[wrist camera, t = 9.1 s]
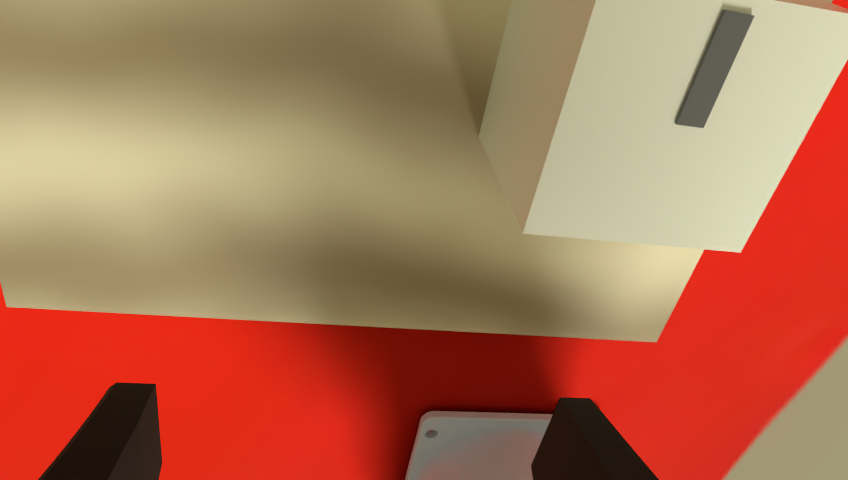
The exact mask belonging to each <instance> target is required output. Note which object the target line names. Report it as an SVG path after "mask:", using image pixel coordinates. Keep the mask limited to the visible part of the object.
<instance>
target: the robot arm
mask: <svg viewBox="0 0 848 480" xmlns="http://www.w3.org/2000/svg"><path fill="white" fill-rule="evenodd" d="M429 430H430V431H429ZM161 465H162V456H161V443H160V431H159V419H158V407H157V395H156V384H139V383H115V384H114V385H112V386H111V387H110V388H109V389H108V390H107V392H106V393H105V395H104V396H103V398H102V399H101V400H100V402H99V403H98V405H97V406H96V407H95V409H94V410H93V411H92V413H91V414H90V415H89V417H88V418H87V419H86V421H85V422H84V423H83V425H82V426H81V427H80V429H79V430H78V431H77V433H76V434H75V435H74V436H73V438H72V439H71V440H70V441H69V443H68V444H67V445H66V446H65V448H64V449H63V450H62V451H61V453H60V454H59V455H58V457H57V458H56V459H55V460H54V461H53V463H52V464H51V465H50V466H49V467H48V468H47V470H46V471H45V472H44V473H43V474H42V476H41V477H40V478H39V479H38V480H158V479H159V475H160V470H161ZM405 480H659V479H658V478H657V477H656V476H655V475H654V474H653V472H652V471H651V470H650V469H649V468H648V467H647V465H646V464H645V463H644V462H643V461H642V460H641V458H640V457H639V456H638V455H637V454H636V452H635V451H634V450H633V449H632V448H631V447H630V445H629V444H628V443H627V442H626V441H625V439H624V438H623V437H622V436H621V435H620V433H619V432H618V431H617V430H616V429H615V427H614V426H613V425H612V424H611V423H610V421H609V420H608V419H607V418H606V417H605V415H604V414H603V413H602V412H601V411H600V410H599V408H598V407H597V406H596V405H595V404H594V403H593V401H592V400H591V399H589V398H560V399H559V401H558V404H557V406H556V408H555V411H554V413H553V414H530V413H494V412H458V411H430V412H427V413H425V414H424V415H423V416H422V417H421V419H420V423H419V427H418V431H417V435H416V438H415V442H414V446H413V450H412V454H411V458H410V461H409V465H408V469H407V473H406V477H405Z"/></svg>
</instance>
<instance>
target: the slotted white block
mask: <svg viewBox="0 0 848 480" xmlns="http://www.w3.org/2000/svg"><path fill="white" fill-rule="evenodd" d="M847 59H848V9H846V8H843V7H840V6H838V5H835V4H832V3H829V2H827V1H824V0H512V1H511V5H510V10H509V14H508V18H507V22H506V26H505V30H504V34H503V38H502V42H501V47H500V51H499V55H498V59H497V63H496V67H495V71H494V75H493V79H492V84H491V88H490V92H489V96H488V100H487V104H486V108H485V112H484V116H483V120H482V125H481V129H480V133H479V139H480V141H481V143H482V145H483V148H484V150H485V152H486V154H487V156H488V159H489V161H490V163H491V165H492V167H493V170H494V172H495V174H496V176H497V178H498V180H499V183H500V185H501V187H502V189H503V191H504V194H505V196H506V198H507V200H508V202H509V205H510V207H511V209H512V211H513V213H514V216H515V218H516V220H517V222H518V224H519V227H520V229H521V231H522V233H523V234H534V235H545V236H557V237H568V238H580V239H591V240H603V241H614V242H626V243H637V244H649V245H660V246H672V247H683V248H695V249H706V250H718V251H729V252H741V251H742V249H743V247H744V245H745V243H746V242H747V240H748V238H749V236H750V234H751V233H752V231H753V229H754V227H755V225H756V224H757V222H758V220H759V218H760V216H761V215H762V213H763V211H764V209H765V207H766V206H767V204H768V202H769V200H770V198H771V197H772V195H773V193H774V191H775V189H776V188H777V186H778V184H779V182H780V180H781V178H782V177H783V175H784V173H785V171H786V169H787V168H788V166H789V164H790V162H791V160H792V159H793V157H794V155H795V153H796V151H797V150H798V148H799V146H800V144H801V142H802V141H803V139H804V137H805V135H806V133H807V132H808V130H809V128H810V126H811V124H812V123H813V121H814V119H815V117H816V115H817V114H818V112H819V110H820V108H821V106H822V105H823V103H824V101H825V99H826V97H827V96H828V94H829V92H830V90H831V88H832V87H833V85H834V83H835V81H836V79H837V77H838V76H839V74H840V72H841V70H842V68H843V67H844V65H845V63H846V61H847Z"/></svg>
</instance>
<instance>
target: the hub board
mask: <svg viewBox="0 0 848 480" xmlns="http://www.w3.org/2000/svg"><path fill="white" fill-rule="evenodd" d="M511 1H512V0H0V282H1V286H2V290H3V294H4V298H5V303H6V307H17V308H35V309H54V310H72V311H91V312H109V313H127V314H146V315H164V316H183V317H201V318H220V319H238V320H257V321H275V322H294V323H312V324H330V325H349V326H367V327H386V328H404V329H423V330H441V331H460V332H478V333H496V334H515V335H533V336H552V337H570V338H589V339H607V340H626V341H644V342H657V340H658V338H659V336H660V334H661V332H662V330H663V328H664V326H665V324H666V323H667V321H668V319H669V317H670V315H671V313H672V311H673V309H674V307H675V305H676V303H677V301H678V299H679V297H680V295H681V293H682V292H683V290H684V288H685V286H686V284H687V282H688V280H689V278H690V276H691V274H692V272H693V270H694V268H695V266H696V264H697V262H698V261H699V259H700V257H701V255H702V253H703V251H704V249H695V248H683V247H672V246H660V245H649V244H637V243H626V242H614V241H603V240H591V239H580V238H568V237H557V236H545V235H534V234H523V233H522V231H521V229H520V227H519V224H518V222H517V220H516V218H515V216H514V213H513V211H512V209H511V207H510V205H509V202H508V200H507V198H506V196H505V194H504V191H503V189H502V187H501V185H500V183H499V180H498V178H497V176H496V174H495V172H494V170H493V167H492V165H491V163H490V161H489V159H488V156H487V154H486V152H485V150H484V148H483V145H482V143H481V141H480V139H479V133H480V129H481V125H482V120H483V116H484V112H485V108H486V104H487V100H488V96H489V92H490V88H491V84H492V79H493V75H494V71H495V67H496V63H497V59H498V55H499V51H500V47H501V42H502V38H503V34H504V30H505V26H506V22H507V18H508V14H509V10H510V5H511ZM824 1H827V2H829V3H832V1H833V0H824Z"/></svg>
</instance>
